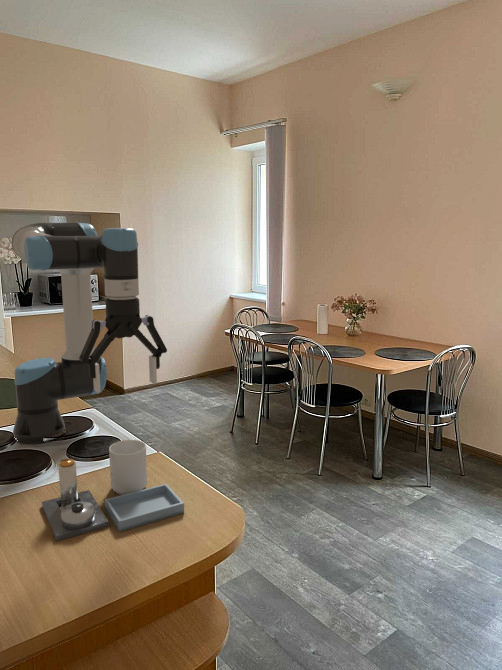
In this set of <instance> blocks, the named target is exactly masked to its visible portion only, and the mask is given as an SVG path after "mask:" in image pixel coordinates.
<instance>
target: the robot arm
mask: <svg viewBox="0 0 502 670" xmlns="http://www.w3.org/2000/svg"><path fill="white" fill-rule="evenodd" d="M101 234H102V235H101ZM101 234H99V235H98V232H97V230H96V228H95V227H94V226H93V225H92V224H90V223H87V222H86V223H85V222H37V223H31V224H27V225H24V226H22V227H20V228H19V229H17V230H16V231H15V232H14V234H13V236H12V239H11V247H12V251H13V252H14V254H15V255H16V256H17V257H18V258H19V259H22V260H23V261H25V263H26V267H27V268H28V269H29V270H31V271H36V270H37V271H38V270H39V271H47V270H49V271H50V270H56V271H58V272H59V273H60V276H61V277H60V278H61V292H62V307H63V311H62V312H63V322H64V323H63V325H64V338H65V339H64V340H65V351H64V352H63V353H62V354H61V356H60V358H61V360H60V361H59V362H56V361H55V359H54V358H52V357H45V358H44V357H41V358H35V359H34V358H33V359H31V360H28V361H25V362H22V363H21V364H19V365H18V366H17V367H16V368H15V370H14V380H13V381H14V382H13V383H14V386H15V395H16V409H17V414H16V418H15V421H14V425H13V430H12V436H13V435H14V436H15V437H16V438H17V440H18V443H21V444H28V445H30V444H42V442H44V441H43V438H44V437H47V436H52V435H55V434H58V433H60V432H62V431H63V430H64V429H65V430H66V424H65V421H64V419H63V416H62V413H61V412H60V410H59V406H58V405H59V404H58V401H59V400H66V399H73V398H80V397H90V396H91V395H92V396H93V395H97V394H100V393H102V392H103V391H104V389H105V387H106V384H107V383H106V382H107V378H108V377H107V376H108V370H107V362H106V360H105V358H103V356H102V355H103V354H104V353H105V351H106V349H108V347H109V346H110V344H111V343H112V342H114V341H115V339H116V338H117V339H124V338H132V337H133V336H135V337H136V339H138V341H139V342H141V343H142V344H143V346H145V348H146V349H147V350H148V351H149V352H150V353H151V354H149V355H148V363H149V364H148V366H149V367H148V368H149V375H148V376H149V382H150V383H152V384H153V385H155V384H158V380H157V378H158V376H157V375H158V374H157V370H158V369H160V368H161V361H160V359H161V357H162V354H166V353H167V352H168V349H167V347H166V345H165V342H164V341H163V340H162V337H161V335H160V334H159V332H158V330H157V328H156V327H155V322H154V321H155V320H154V316H151V315H149V314H146V315H144V316H141V314H140V312H141V311H140V309H141V308H140V298H139V297H138V296H139V295H140V290H139V289H140V288H139V287H140V286H139V258H138V257H139V255H138V254H139V253H138V252H139V251H138V250H139V249H138V247H139V243H138V237H137V236H138V235H137V231H136V229H134V228H130V227H129V228H127V227H110V228H109V227H107V228H104V229H103V230H102V233H101ZM102 268H103V275H104V276H103V277H104V278H103V279H104V296H105V297H107V298H106V299H105V300H104V301H105V320H97V319H94V315H93V312H94V311H93V297H92V296H93V295H92V280H91V277H92V276H91V273H92V272H93V271H94V270H95V269H102ZM142 324H143V326H145V327H146V328H147V329H146V330H147V331H148V333H149V334H150V336H151V338H152V340H153V342H154V343H155V345H156V347H155V345H153V343H152V342H151V341H150V340H149V339H148V338H147V337H146V336H145V335H144V334H143V333H142V331H140V329H139V328H140V326H141V325H142ZM104 327H105V328H106V329H107V331H106V332H105V334H104V336H103V338H102V339H101V340H100V341H99V343H98V344H97V346H96V347H95V344H96V343H97V339H98V338H99V335H100V332H101V331H102V330H103V329H104ZM44 443H45V442H44Z"/></svg>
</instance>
